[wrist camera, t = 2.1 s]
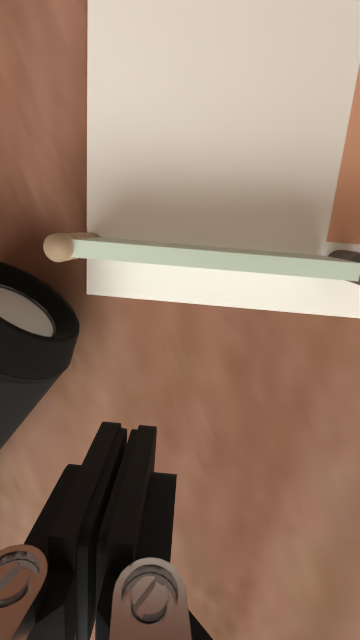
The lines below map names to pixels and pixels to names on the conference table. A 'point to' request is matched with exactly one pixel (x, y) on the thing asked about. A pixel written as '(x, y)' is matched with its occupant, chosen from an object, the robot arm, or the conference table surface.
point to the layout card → (225, 144)
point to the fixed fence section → (347, 258)
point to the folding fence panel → (197, 256)
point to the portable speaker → (30, 344)
